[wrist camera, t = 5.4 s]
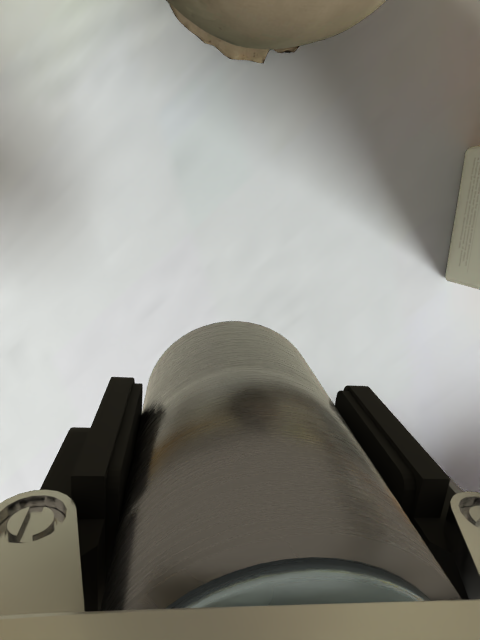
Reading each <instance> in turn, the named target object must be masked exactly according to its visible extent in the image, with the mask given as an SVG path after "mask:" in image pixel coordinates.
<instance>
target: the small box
mask: <svg viewBox="0 0 480 640" xmlns="http://www.w3.org/2000/svg"><path fill="white" fill-rule="evenodd" d="M446 280H447V281H450V282H454V283H458V284H461V285H465V286H468V287H472V288H476V289H479V290H480V146H474V147H470V148H468V150H467V151H466V152H465V159H464V165H463V172H462V178H461V184H460V190H459V196H458V203H457V209H456V215H455V220H454V226H453V232H452V237H451V244H450V250H449V256H448V263H447V269H446Z"/></svg>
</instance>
